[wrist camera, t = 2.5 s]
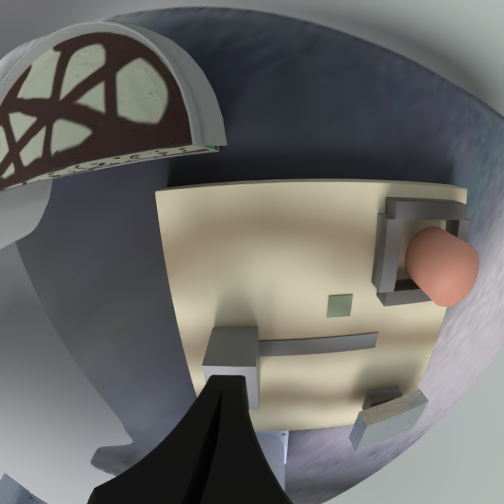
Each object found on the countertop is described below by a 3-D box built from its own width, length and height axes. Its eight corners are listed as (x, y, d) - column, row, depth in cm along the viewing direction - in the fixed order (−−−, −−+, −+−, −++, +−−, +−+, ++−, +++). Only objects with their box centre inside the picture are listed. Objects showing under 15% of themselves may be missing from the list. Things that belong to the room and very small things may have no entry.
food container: (239, 58, 14) (210, -34, 5) (244, 150, 16) (216, 142, 7) (75, 96, 15) (-28, 84, 5) (78, 174, 17) (-28, 203, 7)
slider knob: (260, 370, 19) (259, 409, 15) (219, 370, 19) (212, 408, 16) (258, 326, 18) (256, 366, 14) (212, 327, 18) (201, 365, 14)
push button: (445, 280, 14) (469, 302, 12) (400, 285, 15) (422, 310, 12) (454, 226, 13) (484, 242, 10) (408, 226, 13) (436, 243, 11)
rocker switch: (405, 416, 19) (413, 427, 18) (349, 437, 18) (355, 450, 17) (419, 389, 18) (428, 401, 16) (358, 411, 17) (366, 426, 16)
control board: (399, 400, 23) (408, 423, 20) (210, 414, 24) (204, 441, 21) (451, 184, 16) (480, 193, 12) (166, 187, 17) (144, 195, 14)
